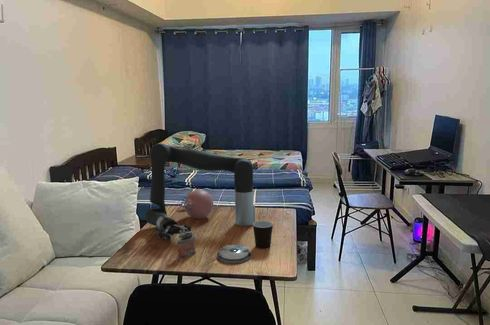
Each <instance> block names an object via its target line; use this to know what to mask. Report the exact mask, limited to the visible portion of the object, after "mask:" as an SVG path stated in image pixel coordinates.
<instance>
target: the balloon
mask: <svg viewBox="0 0 490 325" xmlns="http://www.w3.org/2000/svg"><path fill="white" fill-rule="evenodd" d="M184 200H185V201H183V202H184V204H182V208H183V209H184V211H185V212H186V214H187V215H189V217H191V218H194V219H196V220H197V219H198V220H199V219H204V218H206V217H207V216H209V215H210V214H211V213H212V211H213V208H214V200H213V197H212V195H211V194H210V193H209V192H207V191H206V190H203V189H194V190H192V191H190V192H189V193H188V194H187V195H186V198H184Z"/></svg>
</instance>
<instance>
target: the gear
mask: <svg viewBox="0 0 490 325" xmlns="http://www.w3.org/2000/svg"><path fill="white" fill-rule="evenodd" d="M186 197H187V195H184V196H183V198H181V205H184V201H185V198H186Z"/></svg>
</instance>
